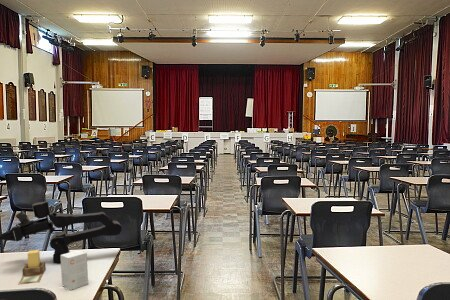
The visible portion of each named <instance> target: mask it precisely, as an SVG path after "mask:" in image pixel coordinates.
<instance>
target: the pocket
mask: <svg viewBox="0 0 450 300" xmlns="http://www.w3.org/2000/svg"><path fill="white" fill-rule="evenodd" d="M46 269H47V268H46V261H40V267H34V268H28V263H25V265H24V266H23V268H22V277H23V276H33V275H40V274H43V273H45V271H46ZM43 275H44V274H43Z"/></svg>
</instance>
